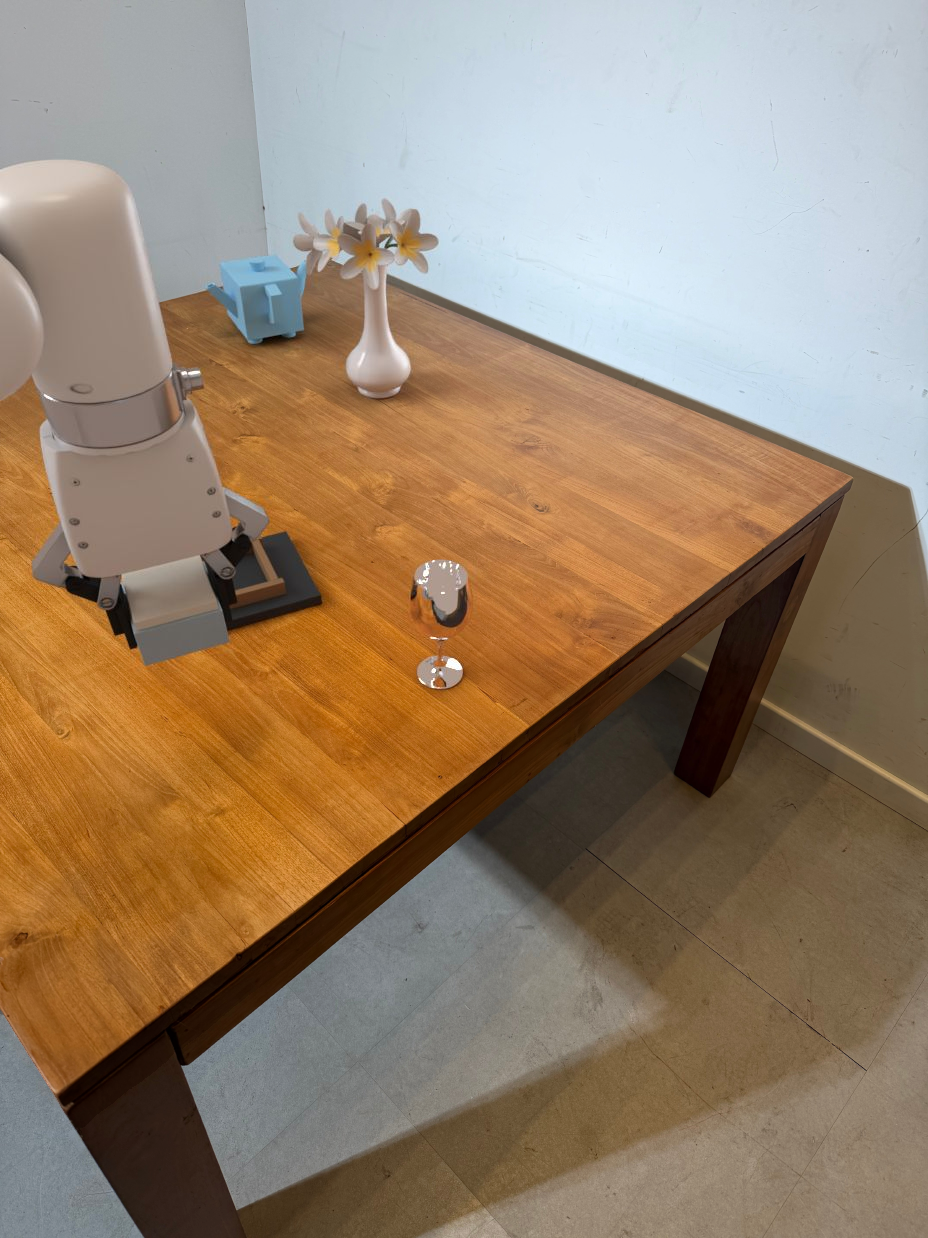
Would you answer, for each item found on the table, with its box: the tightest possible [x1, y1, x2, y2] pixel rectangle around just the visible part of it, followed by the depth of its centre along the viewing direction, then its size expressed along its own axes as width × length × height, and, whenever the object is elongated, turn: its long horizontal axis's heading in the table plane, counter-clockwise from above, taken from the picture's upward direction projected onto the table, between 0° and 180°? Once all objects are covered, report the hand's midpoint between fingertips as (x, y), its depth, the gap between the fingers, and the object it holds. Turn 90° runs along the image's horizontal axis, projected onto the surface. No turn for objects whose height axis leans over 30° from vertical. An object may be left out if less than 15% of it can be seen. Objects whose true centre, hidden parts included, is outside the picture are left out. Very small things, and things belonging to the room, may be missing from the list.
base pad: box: [200, 530, 323, 631], centre depth 87 cm, size 16×12×3 cm
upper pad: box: [120, 555, 230, 667], centre depth 60 cm, size 6×6×4 cm
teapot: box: [204, 254, 308, 345], centre depth 130 cm, size 16×18×11 cm
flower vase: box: [292, 197, 440, 400], centre depth 112 cm, size 13×18×25 cm
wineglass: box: [407, 559, 474, 690], centre depth 76 cm, size 6×6×12 cm
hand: (178, 621), depth 61 cm, fingers closed on upper pad, 6 cm apart
